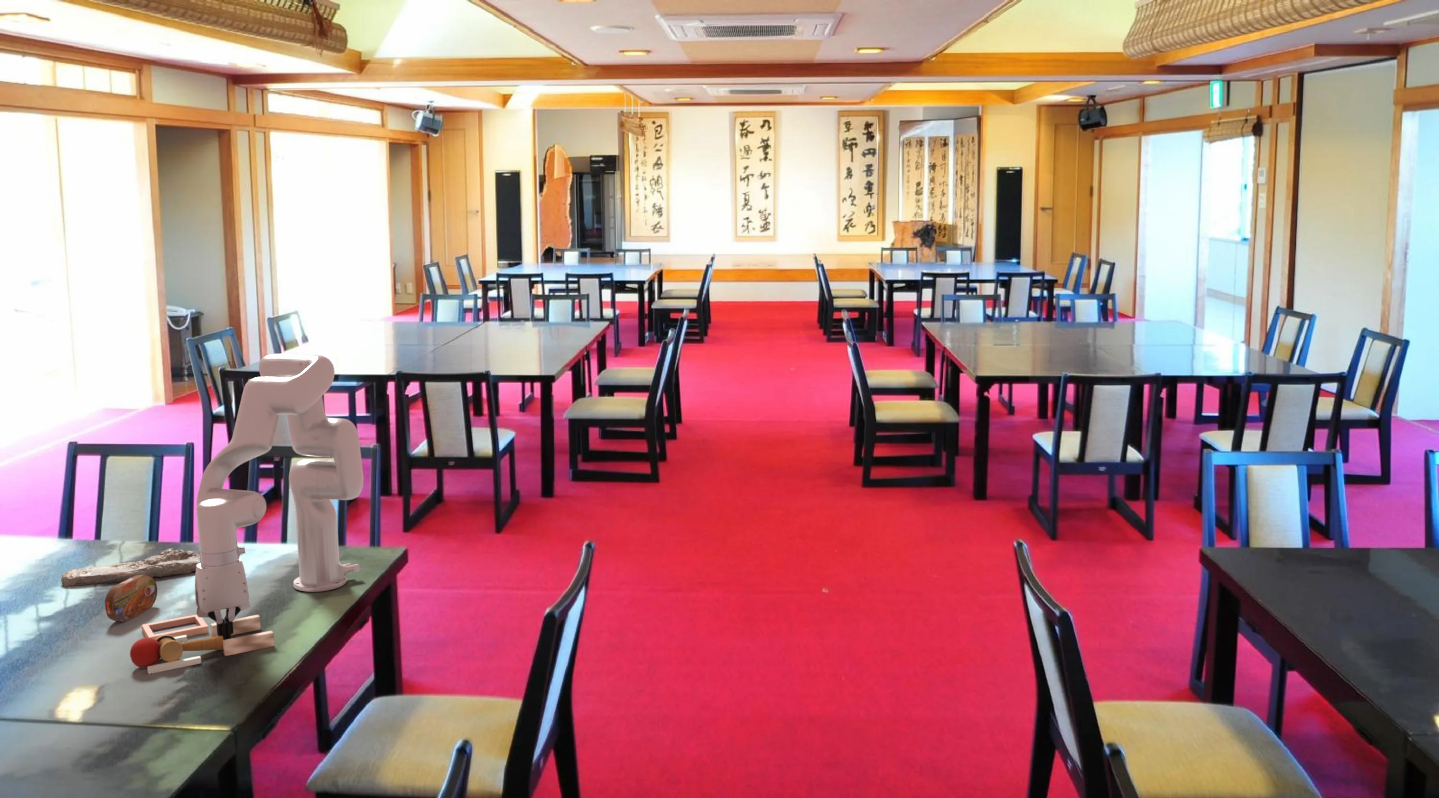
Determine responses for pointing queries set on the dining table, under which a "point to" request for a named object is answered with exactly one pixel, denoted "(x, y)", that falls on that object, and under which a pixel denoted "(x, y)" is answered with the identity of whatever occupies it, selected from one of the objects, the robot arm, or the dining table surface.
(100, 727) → the dining table surface
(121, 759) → the dining table surface
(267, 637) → the lane
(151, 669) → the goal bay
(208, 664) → the dining table surface
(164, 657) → the kendama
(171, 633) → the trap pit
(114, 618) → the tin
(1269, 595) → the dining table surface
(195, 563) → the elongated rock
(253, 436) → the robot arm
